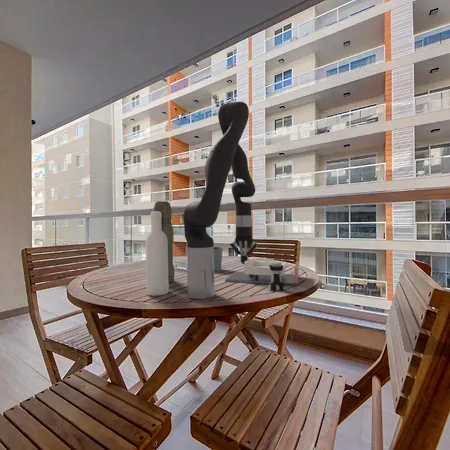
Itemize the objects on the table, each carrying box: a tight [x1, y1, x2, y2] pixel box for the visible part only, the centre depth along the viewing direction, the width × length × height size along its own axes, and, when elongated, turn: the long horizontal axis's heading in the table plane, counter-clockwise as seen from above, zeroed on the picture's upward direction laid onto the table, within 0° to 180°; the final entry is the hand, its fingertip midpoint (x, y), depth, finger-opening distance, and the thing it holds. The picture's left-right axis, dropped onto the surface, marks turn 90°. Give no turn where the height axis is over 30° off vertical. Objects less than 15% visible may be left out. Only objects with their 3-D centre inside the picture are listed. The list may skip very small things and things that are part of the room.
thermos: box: [153, 200, 175, 284], centre depth 111 cm, size 9×12×35 cm
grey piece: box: [224, 261, 300, 287], centre depth 114 cm, size 17×30×7 cm, turn 72°
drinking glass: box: [214, 246, 224, 273], centre depth 137 cm, size 10×10×12 cm
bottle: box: [145, 211, 170, 297], centre depth 94 cm, size 8×8×30 cm
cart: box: [243, 256, 287, 278], centre depth 113 cm, size 16×16×7 cm
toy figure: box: [265, 261, 285, 291], centre depth 96 cm, size 7×5×10 cm
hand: (244, 263), depth 116 cm, fingers closed
